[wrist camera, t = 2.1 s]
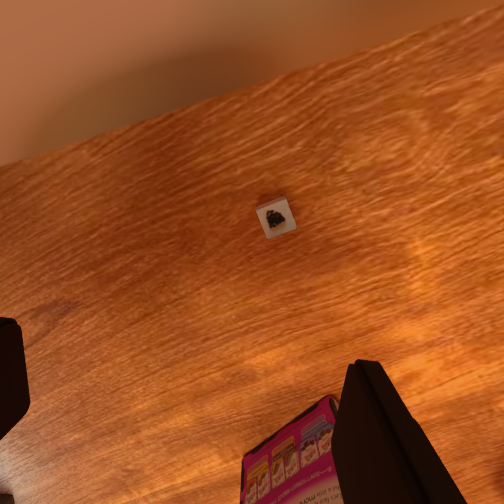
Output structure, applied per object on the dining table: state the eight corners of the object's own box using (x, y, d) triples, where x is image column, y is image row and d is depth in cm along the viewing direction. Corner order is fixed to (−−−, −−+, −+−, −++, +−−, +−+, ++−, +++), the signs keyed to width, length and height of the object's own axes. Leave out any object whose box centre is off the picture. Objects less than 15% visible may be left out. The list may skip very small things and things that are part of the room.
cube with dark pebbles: (266, 232, 22) (267, 240, 20) (256, 206, 22) (255, 210, 19) (294, 222, 22) (297, 228, 19) (283, 195, 21) (286, 198, 19)
